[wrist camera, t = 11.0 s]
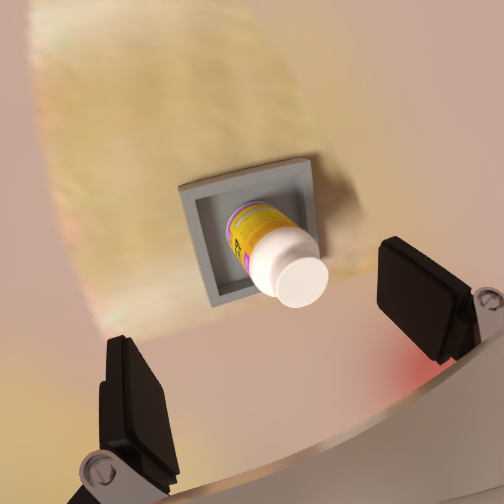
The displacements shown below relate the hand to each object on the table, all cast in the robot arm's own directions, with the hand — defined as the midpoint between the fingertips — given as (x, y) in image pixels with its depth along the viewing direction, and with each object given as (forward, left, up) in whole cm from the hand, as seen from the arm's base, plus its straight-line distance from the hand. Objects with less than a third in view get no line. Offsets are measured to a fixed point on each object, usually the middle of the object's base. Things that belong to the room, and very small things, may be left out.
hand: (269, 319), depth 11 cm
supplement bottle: (+7, +6, -24) cm, 26 cm away
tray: (+8, +6, -25) cm, 27 cm away
